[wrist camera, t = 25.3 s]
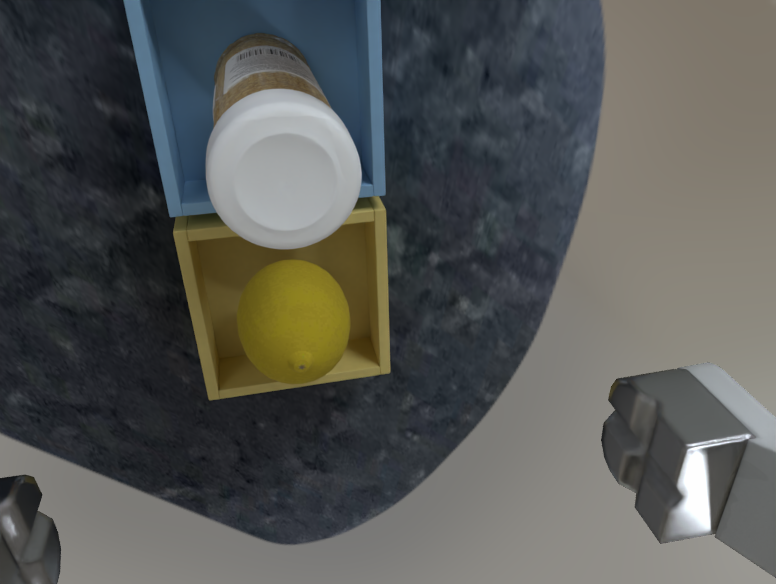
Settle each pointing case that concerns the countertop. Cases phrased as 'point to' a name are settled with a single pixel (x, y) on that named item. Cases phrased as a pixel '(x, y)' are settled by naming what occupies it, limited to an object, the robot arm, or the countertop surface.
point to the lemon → (293, 321)
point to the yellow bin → (244, 259)
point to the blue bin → (198, 64)
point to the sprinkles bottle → (277, 148)
